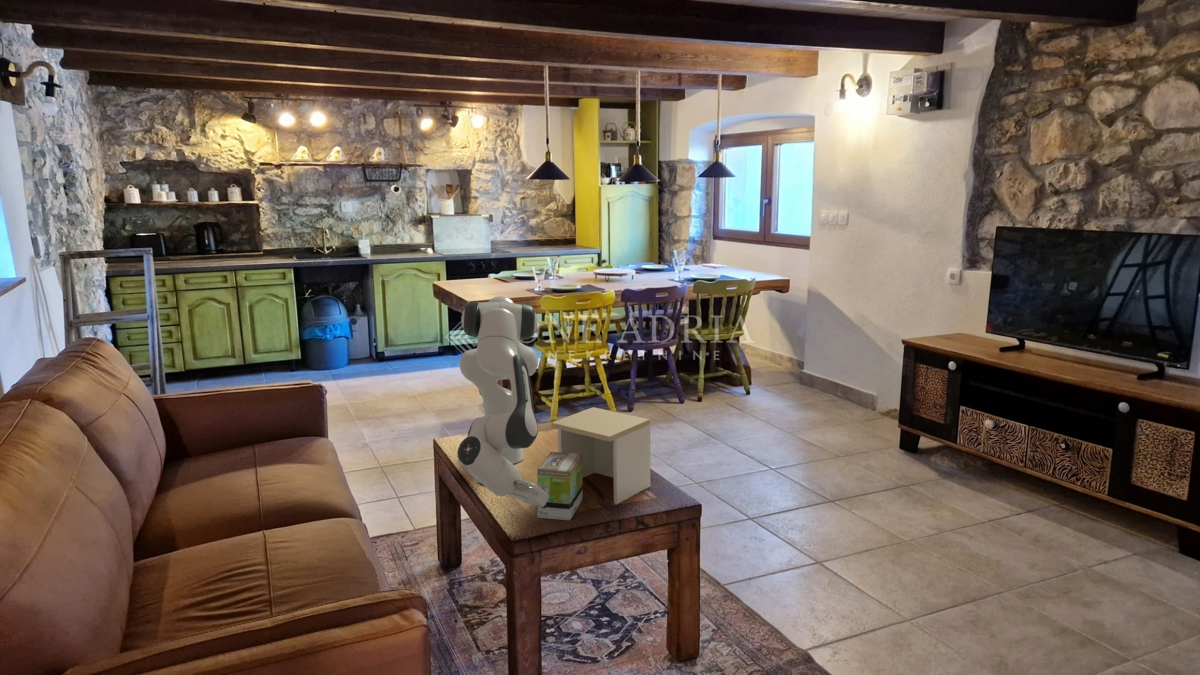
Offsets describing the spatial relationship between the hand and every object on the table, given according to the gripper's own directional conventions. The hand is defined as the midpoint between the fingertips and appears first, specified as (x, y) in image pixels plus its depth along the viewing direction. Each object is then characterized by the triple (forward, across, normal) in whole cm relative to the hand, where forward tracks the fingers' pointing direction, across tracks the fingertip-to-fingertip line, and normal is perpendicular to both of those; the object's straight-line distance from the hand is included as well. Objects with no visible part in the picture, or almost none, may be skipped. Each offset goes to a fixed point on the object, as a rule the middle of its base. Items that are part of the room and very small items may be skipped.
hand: (529, 501), depth 208 cm
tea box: (+14, 0, -4) cm, 15 cm away
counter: (+27, 0, -18) cm, 32 cm away
